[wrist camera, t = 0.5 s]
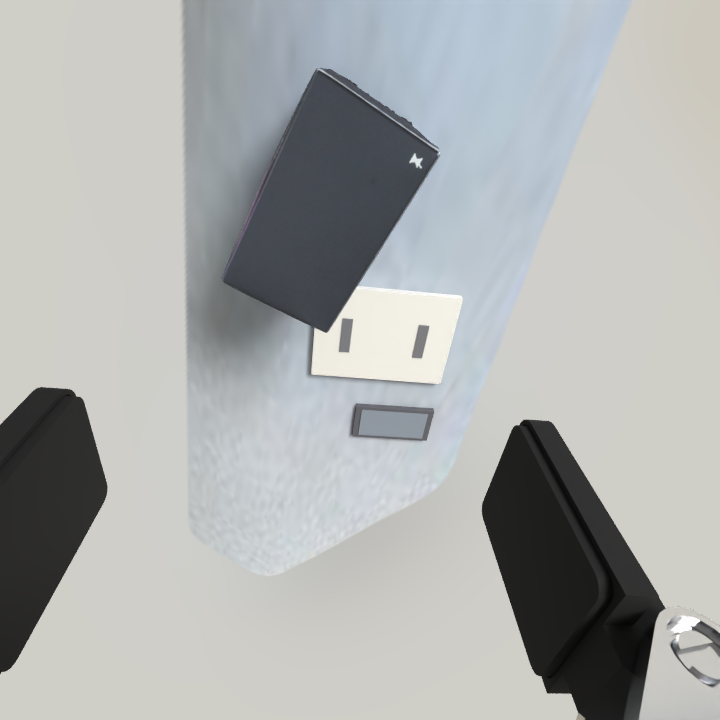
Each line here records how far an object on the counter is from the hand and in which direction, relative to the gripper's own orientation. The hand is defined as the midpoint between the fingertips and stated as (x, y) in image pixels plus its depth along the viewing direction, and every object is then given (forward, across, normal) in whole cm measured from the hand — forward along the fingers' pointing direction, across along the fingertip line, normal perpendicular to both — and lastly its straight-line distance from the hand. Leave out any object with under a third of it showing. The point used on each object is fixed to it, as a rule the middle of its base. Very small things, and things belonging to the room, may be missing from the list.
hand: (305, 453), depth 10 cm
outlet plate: (+24, -5, +10) cm, 26 cm away
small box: (+24, 0, -2) cm, 24 cm away
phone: (+24, -7, +19) cm, 31 cm away
